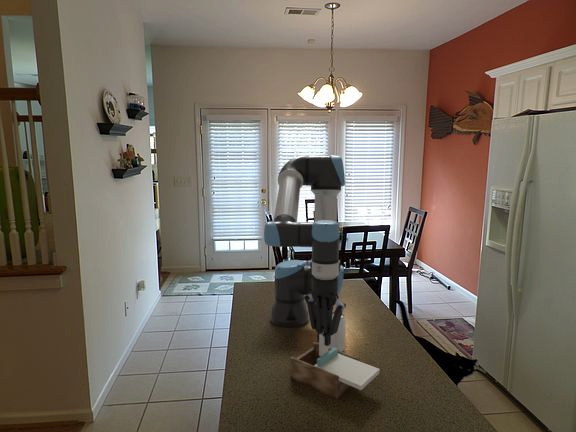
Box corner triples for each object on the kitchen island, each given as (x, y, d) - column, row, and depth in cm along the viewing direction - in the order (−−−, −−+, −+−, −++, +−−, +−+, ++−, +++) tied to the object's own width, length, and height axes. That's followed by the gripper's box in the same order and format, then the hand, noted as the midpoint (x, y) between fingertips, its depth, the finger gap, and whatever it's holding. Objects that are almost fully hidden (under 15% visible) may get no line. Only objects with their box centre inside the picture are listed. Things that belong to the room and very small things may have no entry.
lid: (313, 370, 109) (313, 359, 109) (333, 355, 117) (333, 345, 117) (361, 390, 100) (361, 378, 100) (379, 373, 108) (379, 362, 107)
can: (346, 346, 134) (347, 312, 132) (342, 355, 127) (343, 320, 126) (328, 343, 136) (328, 310, 134) (323, 351, 130) (324, 317, 128)
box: (290, 377, 114) (290, 357, 113) (313, 361, 124) (314, 341, 123) (337, 399, 105) (337, 376, 104) (358, 379, 114) (359, 358, 113)
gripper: (298, 274, 111) (298, 352, 114) (337, 283, 102) (335, 367, 106) (313, 268, 116) (313, 342, 120) (352, 277, 108) (349, 356, 112)
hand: (323, 354), depth 113 cm, fingers closed
